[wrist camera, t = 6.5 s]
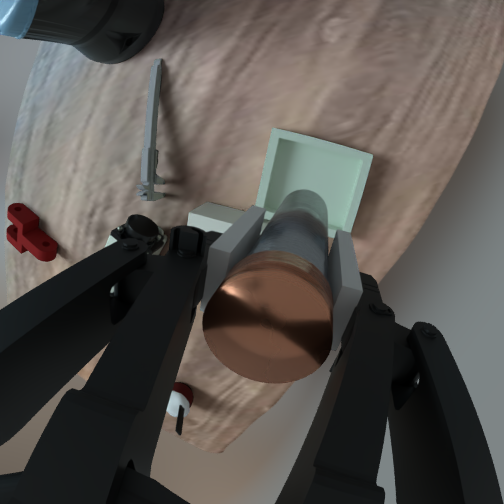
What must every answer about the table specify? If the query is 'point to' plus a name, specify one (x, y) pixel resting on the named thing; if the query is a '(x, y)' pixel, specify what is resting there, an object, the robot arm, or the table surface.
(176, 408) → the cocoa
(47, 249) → the mechanical linkage
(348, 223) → the tray
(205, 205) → the block
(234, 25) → the table surface
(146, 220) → the pneumatic valve
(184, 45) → the table surface
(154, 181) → the caliper
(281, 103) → the table surface
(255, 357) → the pin
